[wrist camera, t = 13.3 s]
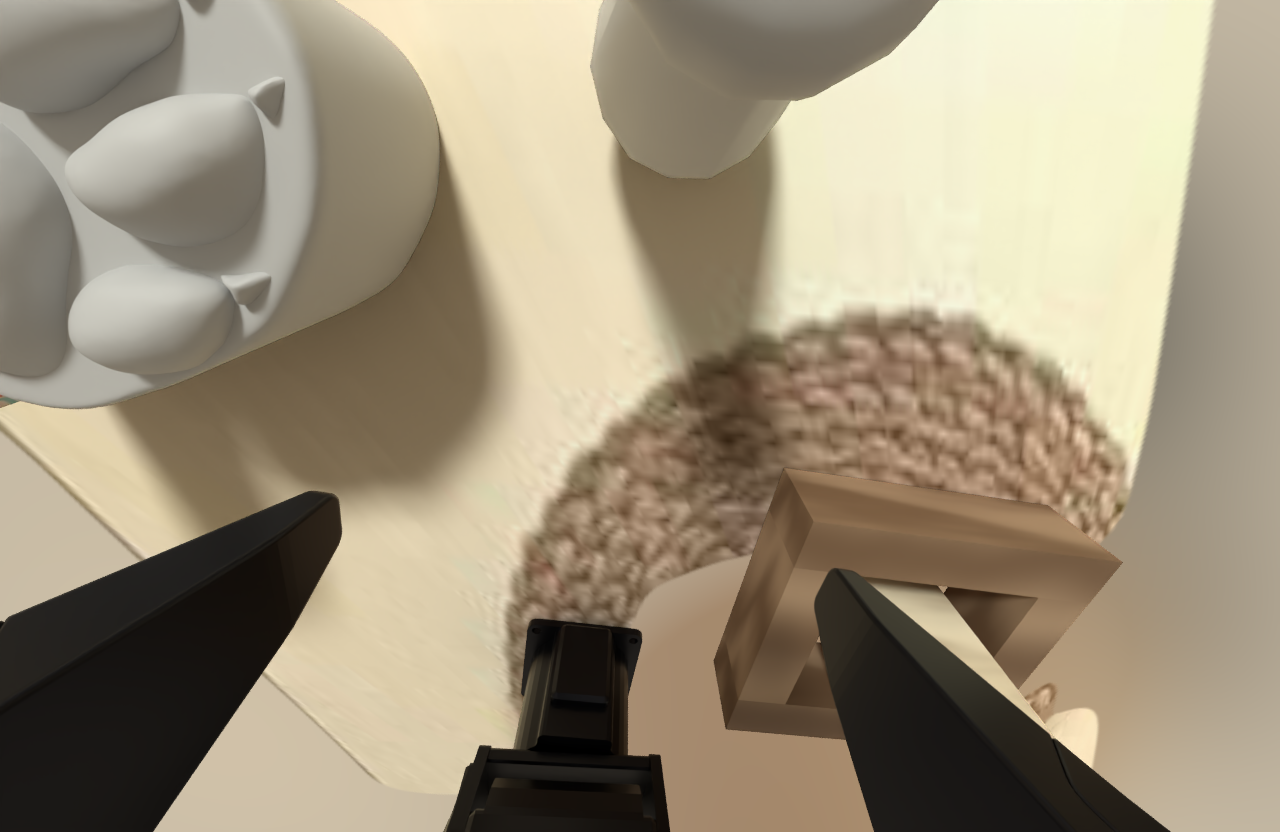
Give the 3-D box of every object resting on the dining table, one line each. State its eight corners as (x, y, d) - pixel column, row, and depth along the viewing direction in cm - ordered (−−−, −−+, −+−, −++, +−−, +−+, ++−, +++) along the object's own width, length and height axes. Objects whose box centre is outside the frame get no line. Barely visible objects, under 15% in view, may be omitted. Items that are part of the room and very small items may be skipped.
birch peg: (886, 621, 27) (1013, 835, 18) (813, 612, 27) (906, 827, 18) (920, 563, 25) (1080, 771, 16) (842, 553, 25) (962, 760, 16)
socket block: (927, 682, 30) (967, 750, 26) (713, 660, 28) (725, 729, 25) (1047, 505, 24) (1122, 562, 20) (784, 467, 22) (813, 521, 19)
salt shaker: (738, 198, 17) (970, 220, 5) (584, 159, 16) (475, 90, 5) (796, -2, 15) (1448, -747, 3) (617, -58, 14) (553, -1287, 2)
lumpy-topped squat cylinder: (-4, 87, 15) (-658, -18, 8) (321, -119, 13) (-107, -543, 6) (230, 363, 20) (-32, 478, 12) (502, 238, 18) (402, 278, 10)
